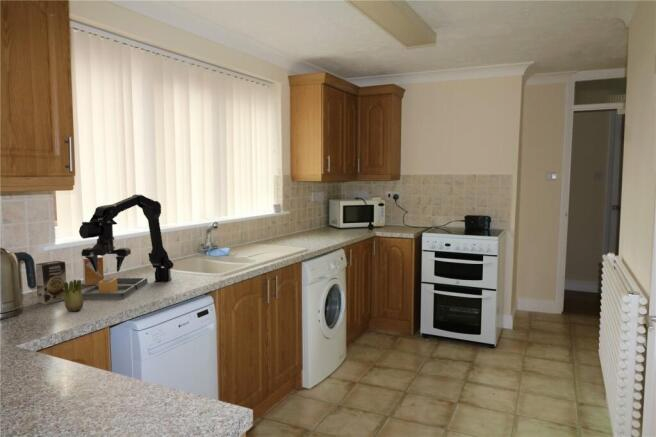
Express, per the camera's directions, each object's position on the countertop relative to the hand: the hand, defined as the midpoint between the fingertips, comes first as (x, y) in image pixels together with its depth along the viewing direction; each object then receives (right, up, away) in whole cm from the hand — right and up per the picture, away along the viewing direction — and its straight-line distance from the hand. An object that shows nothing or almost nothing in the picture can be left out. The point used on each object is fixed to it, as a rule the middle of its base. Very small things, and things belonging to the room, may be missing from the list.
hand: (107, 271), depth 203 cm
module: (0, -9, +1) cm, 9 cm away
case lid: (0, -10, +1) cm, 10 cm away
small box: (-16, -8, +22) cm, 28 cm away
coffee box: (-19, -11, -8) cm, 23 cm away
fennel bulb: (-2, -13, -22) cm, 25 cm away
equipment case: (0, -9, +16) cm, 18 cm away
